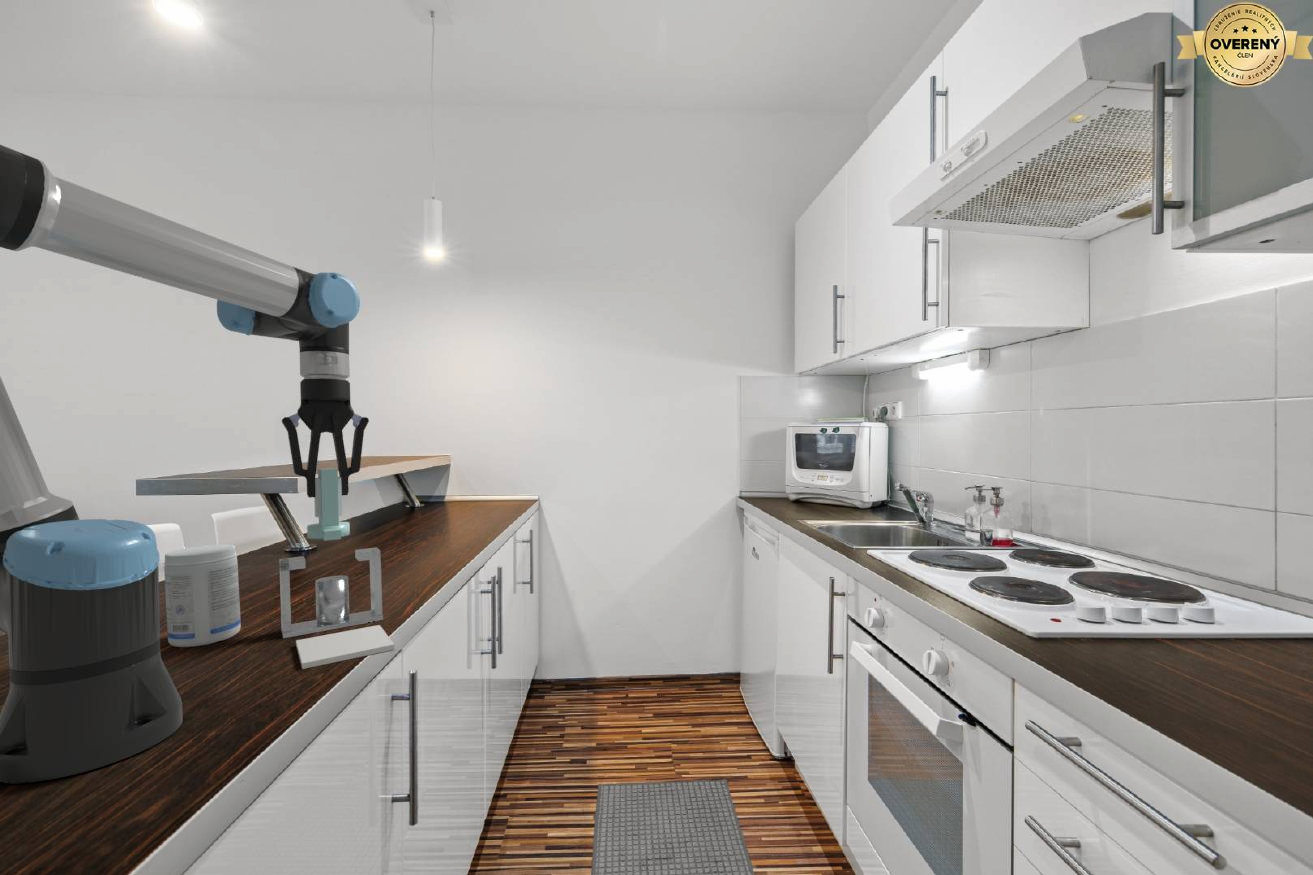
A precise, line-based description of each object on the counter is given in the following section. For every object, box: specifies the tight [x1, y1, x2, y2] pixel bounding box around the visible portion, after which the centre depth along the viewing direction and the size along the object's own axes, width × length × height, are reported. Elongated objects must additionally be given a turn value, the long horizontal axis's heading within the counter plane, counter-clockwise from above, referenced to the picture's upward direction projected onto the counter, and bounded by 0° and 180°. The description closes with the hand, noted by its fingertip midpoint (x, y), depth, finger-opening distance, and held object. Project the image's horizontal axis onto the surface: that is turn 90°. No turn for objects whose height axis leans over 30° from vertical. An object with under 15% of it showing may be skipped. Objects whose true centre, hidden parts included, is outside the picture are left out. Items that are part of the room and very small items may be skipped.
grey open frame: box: [278, 546, 384, 639], centre depth 103 cm, size 15×5×12 cm, turn 125°
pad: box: [295, 624, 395, 670], centre depth 92 cm, size 12×12×1 cm
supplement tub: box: [163, 544, 242, 648], centre depth 98 cm, size 10×10×15 cm
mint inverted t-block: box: [306, 468, 351, 542], centre depth 103 cm, size 11×6×12 cm, turn 35°
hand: (328, 515), depth 103 cm, fingers closed on mint inverted t-block, 2 cm apart
